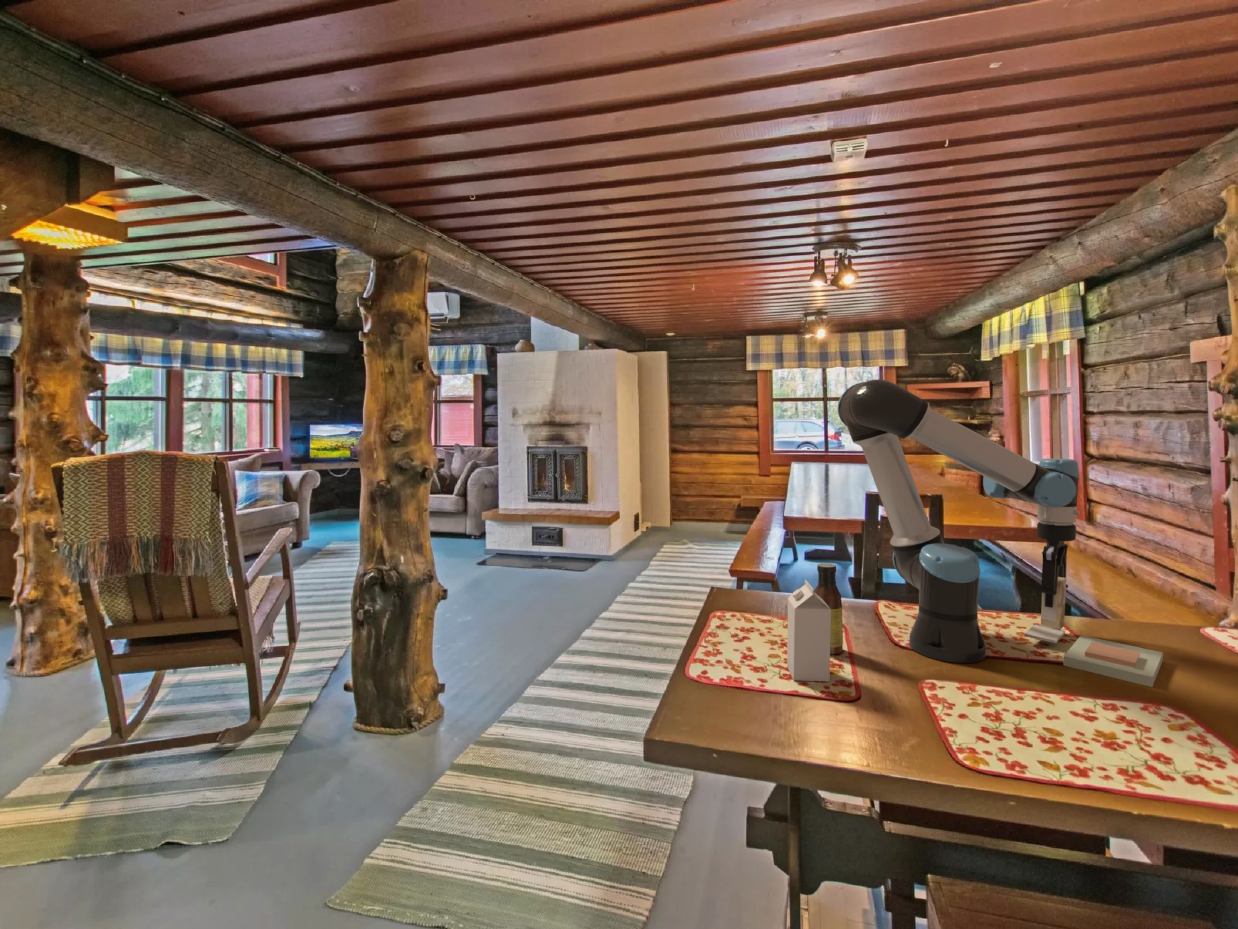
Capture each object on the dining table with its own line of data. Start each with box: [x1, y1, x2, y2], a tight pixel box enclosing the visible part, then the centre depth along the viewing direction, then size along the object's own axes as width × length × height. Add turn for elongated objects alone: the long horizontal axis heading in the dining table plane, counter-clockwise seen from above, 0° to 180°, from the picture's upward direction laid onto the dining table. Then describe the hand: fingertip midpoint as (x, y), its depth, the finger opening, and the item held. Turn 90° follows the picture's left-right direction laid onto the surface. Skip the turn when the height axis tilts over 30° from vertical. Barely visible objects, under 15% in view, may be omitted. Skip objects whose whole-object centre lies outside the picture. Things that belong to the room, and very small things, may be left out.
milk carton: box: [786, 579, 831, 683], centre depth 119 cm, size 7×7×19 cm
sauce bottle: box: [814, 562, 844, 655], centre depth 131 cm, size 7×6×20 cm
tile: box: [1085, 642, 1140, 669], centre depth 122 cm, size 8×8×1 cm
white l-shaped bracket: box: [1024, 577, 1067, 644], centre depth 137 cm, size 15×6×12 cm, turn 132°
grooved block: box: [1063, 634, 1164, 688], centre depth 123 cm, size 18×14×2 cm
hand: (1052, 616), depth 140 cm, fingers closed on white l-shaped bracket, 6 cm apart
